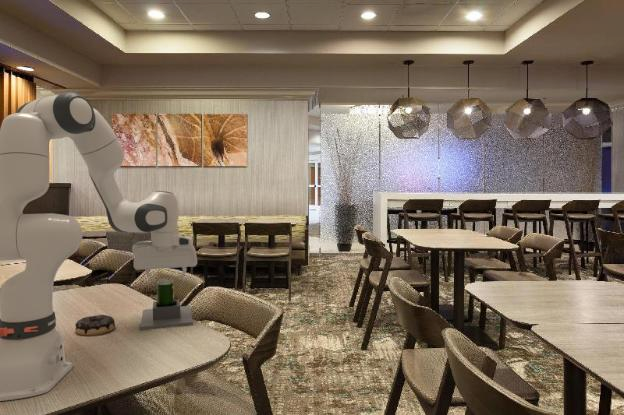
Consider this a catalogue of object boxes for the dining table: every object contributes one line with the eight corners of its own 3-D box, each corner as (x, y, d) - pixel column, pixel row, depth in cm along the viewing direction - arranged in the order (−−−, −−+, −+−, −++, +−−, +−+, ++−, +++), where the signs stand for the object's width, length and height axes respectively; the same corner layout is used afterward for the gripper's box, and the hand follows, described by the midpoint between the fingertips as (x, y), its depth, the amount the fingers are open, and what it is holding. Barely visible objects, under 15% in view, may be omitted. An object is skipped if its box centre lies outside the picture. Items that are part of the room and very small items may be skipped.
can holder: (193, 324, 155) (192, 309, 154) (140, 330, 150) (139, 314, 150) (190, 308, 174) (190, 294, 174) (143, 312, 169) (142, 298, 169)
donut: (99, 323, 158) (99, 311, 158) (123, 328, 152) (123, 316, 152) (67, 333, 149) (67, 320, 149) (91, 339, 143) (91, 326, 143)
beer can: (160, 318, 159) (159, 282, 158) (156, 314, 163) (154, 279, 162) (176, 315, 162) (175, 280, 161) (172, 312, 166) (170, 277, 165)
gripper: (131, 242, 154) (132, 285, 155) (196, 239, 160) (198, 281, 160) (132, 240, 160) (134, 281, 161) (196, 237, 166) (197, 277, 166)
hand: (166, 281), depth 161 cm, fingers open, 8 cm apart
